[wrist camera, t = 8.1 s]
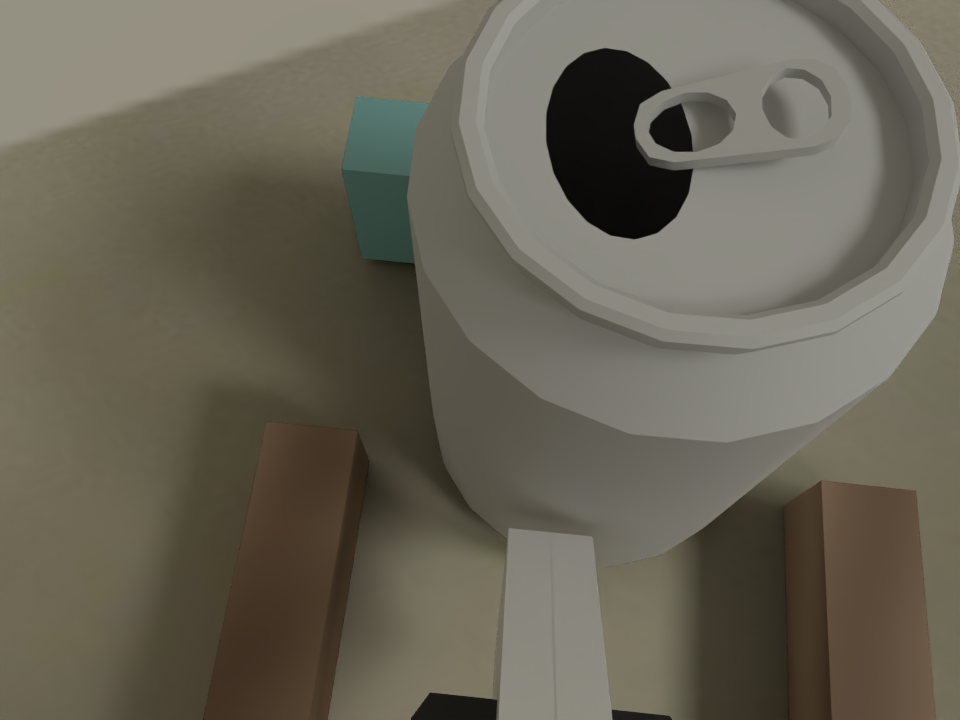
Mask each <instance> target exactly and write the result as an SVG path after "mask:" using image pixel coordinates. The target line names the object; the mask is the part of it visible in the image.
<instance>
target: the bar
mask: <svg viewBox="0 0 960 720" xmlns="http://www.w3.org/2000/svg"><path fill="white" fill-rule="evenodd" d="M428 105H429V103H419V102H408V101H398V100H387V99H377V98H366V97H356V100H355V105H354V110H353V115H352V120H351V125H350V130H349V135H348V140H347V145H346V150H345V154H344V159H343V164H342V174H343V178H344V182H345V186H346V191H347V195H348V199H349V203H350V208H351V212H352V216H353V220H354V225H355V229H356V233H357V238H358V242H359V246H360V250H361V255H362V258H365V259H375V260H385V261H395V262H405V263H414V264H415V260H414V252H413V244H412V236H411V227H410V219H409V211H408V202H407V192H408V185H409V178H410V171H411V164H412V156H413V149H414V142H415V135H416V128H417V125H418V123H419V121H420V120H421V118H422V116H423V114H424V112H425V111H426V109H427V107H428ZM643 201H644V199H642V201H641V205H640V209H639V212H638V216H639V213H640V210H641V207H642V204H643ZM638 216H637V218H638ZM636 221H637V219H636ZM635 224H636V223H635Z"/></svg>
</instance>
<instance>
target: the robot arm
mask: <svg viewBox="0 0 960 720" xmlns="http://www.w3.org/2000/svg"><path fill="white" fill-rule="evenodd" d="M411 720H672V719H671V717H670V716H665V715H656V714H647V713H637V712H628V711H618V710H611V701H610V692H609V682H608V673H607V664H606V655H605V646H604V637H603V627H602V618H601V609H600V600H599V591H598V581H597V572H596V563H595V554H594V545H593V537H592V536H582V535H572V534H562V533H552V532H543V531H533V530H523V529H513V528H509V530H508V540H507V549H506V558H505V568H504V577H503V586H502V595H501V605H500V614H499V623H498V633H497V642H496V651H495V667H494V682H493V698H492V699H485V698H476V697H467V696H457V695H448V694H439V693H429V695H428V696H427V698H426V699H425V700H424V702H423V703H422V704H421V706H420V707H419V708H418V710H417V711H416V712H415V714H414V715H413V716H412V718H411Z"/></svg>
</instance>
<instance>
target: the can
mask: <svg viewBox="0 0 960 720" xmlns="http://www.w3.org/2000/svg"><path fill="white" fill-rule="evenodd" d="M959 186H960V141H959V134H958V128H957V121H956V115H955V108H954V103H953V101H952V99H951V97H950V95H949V93H948V91H947V90H946V88H945V86H944V84H943V82H942V80H941V78H940V77H939V75H938V73H937V71H936V69H935V67H934V66H933V64H932V62H931V60H930V58H929V56H928V54H927V53H926V51H925V49H924V47H923V45H922V43H921V42H920V41H919V40H918V39H917V38H916V37H915V36H914V35H913V34H912V33H911V32H910V31H909V30H908V29H907V28H906V27H905V26H904V25H903V24H902V23H901V22H900V21H899V20H898V19H897V18H896V17H895V16H894V15H893V14H892V13H891V12H890V11H889V10H888V9H887V8H886V7H885V6H884V5H883V4H882V3H881V2H880V1H879V0H499V1H498V2H497V3H495V4H494V5H493V6H492V7H491V8H490V9H489V10H488V11H487V13H486V15H485V17H484V19H483V20H482V22H481V24H480V26H479V28H478V29H477V31H476V33H475V35H474V37H473V39H472V40H471V42H470V44H469V46H468V48H467V49H466V51H465V53H464V54H463V55H462V56H461V57H460V58H459V59H458V60H456V61H455V62H454V63H453V64H452V65H451V66H450V67H449V69H448V71H447V73H446V74H445V76H444V78H443V80H442V82H441V83H440V85H439V87H438V89H437V91H436V93H435V94H434V96H433V98H432V100H431V102H430V103H429V105H428V107H427V109H426V111H425V112H424V114H423V116H422V118H421V120H420V121H419V123H418V125H417V128H416V135H415V142H414V149H413V156H412V164H411V171H410V178H409V185H408V192H407V202H408V211H409V219H410V227H411V236H412V244H413V252H414V260H415V269H416V277H417V285H418V294H419V302H420V310H421V319H422V327H423V335H424V344H425V352H426V360H427V369H428V377H429V385H430V394H431V402H432V410H433V418H434V423H435V427H436V432H437V436H438V441H439V445H440V450H441V454H442V459H443V463H444V466H445V467H446V469H447V471H448V472H449V474H450V476H451V477H452V479H453V481H454V482H455V484H456V486H457V487H458V489H459V491H460V492H461V494H462V496H463V497H464V499H465V501H466V502H467V504H468V506H469V507H470V508H471V509H472V510H473V511H474V512H475V513H477V514H478V515H479V516H480V517H481V518H482V519H484V520H485V521H486V522H487V523H488V524H489V525H490V526H492V527H493V528H494V529H495V530H496V531H497V532H499V533H500V534H501V535H502V536H503V537H504V538H505V539H507V540H508V530H509V528H513V529H523V530H533V531H543V532H552V533H562V534H572V535H582V536H592V537H593V545H594V554H595V563H596V566H604V567H613V566H617V565H621V564H625V563H630V562H634V561H638V560H642V559H647V558H651V557H655V556H659V555H662V554H663V553H665V552H667V551H668V550H670V549H671V548H673V547H674V546H676V545H678V544H679V543H681V542H682V541H684V540H685V539H687V538H689V537H690V536H692V535H693V534H695V533H696V532H698V531H700V530H701V529H703V528H704V527H705V526H707V525H708V524H709V523H710V522H711V521H713V520H714V519H715V518H716V517H718V516H719V515H720V514H721V513H723V512H724V511H725V510H726V509H728V508H729V507H730V506H731V505H732V504H734V503H735V502H736V501H737V500H739V499H740V498H741V497H742V496H744V495H745V494H746V493H747V492H749V491H750V490H751V489H752V488H753V487H755V486H756V485H757V484H758V483H760V482H761V481H762V480H763V479H765V478H766V477H767V476H768V475H770V474H771V473H772V472H773V471H774V470H776V469H777V468H778V467H779V466H781V465H782V464H783V463H784V462H786V461H787V460H788V459H789V458H791V457H792V456H793V455H794V454H795V453H797V452H798V451H799V450H800V449H802V448H803V447H804V446H805V445H807V444H808V443H809V442H810V441H812V440H813V439H814V438H815V437H816V436H818V435H819V434H820V433H821V432H823V431H824V430H825V429H826V428H828V427H829V426H830V425H831V424H833V423H834V422H835V421H836V420H837V419H839V418H840V417H841V416H842V415H844V414H845V413H846V412H847V411H849V410H850V409H851V408H852V407H854V406H855V405H856V404H857V403H858V402H860V401H861V400H862V399H863V398H865V397H866V396H867V395H868V394H870V393H871V392H872V391H873V390H875V389H876V388H877V387H878V386H879V385H881V384H882V383H883V382H884V381H886V380H887V379H888V378H889V377H890V376H891V375H892V374H893V372H894V371H895V370H896V368H897V367H898V366H899V364H900V363H901V361H902V360H903V359H904V357H905V356H906V355H907V353H908V352H909V351H910V349H911V348H912V347H913V345H914V344H915V342H916V341H917V340H918V338H919V337H920V336H921V334H922V333H923V332H924V330H925V329H926V328H927V326H928V325H929V323H930V322H931V321H932V319H933V318H934V317H935V315H936V314H937V311H938V307H939V303H940V299H941V294H942V290H943V286H944V282H945V278H946V274H947V270H948V266H949V262H950V258H951V254H952V249H953V245H954V234H953V227H952V220H951V218H952V214H953V210H954V206H955V202H956V198H957V194H958V190H959ZM642 199H644V201H643V204H642V207H641V210H640V213H639V216H638V212H639V209H640V205H641V201H642ZM637 216H638V218H637ZM636 219H637V221H636ZM635 223H636V224H635Z"/></svg>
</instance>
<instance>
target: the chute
mask: <svg viewBox="0 0 960 720" xmlns="http://www.w3.org/2000/svg"><path fill="white" fill-rule="evenodd" d="M368 467H369V459H368V456H367V454H366V451H365V449H364V446H363V444H362V441H361V438H360V436H359V433H358V431H353V430H344V429H334V428H325V427H316V426H306V425H297V424H288V423H278V422H269V421H267V422H266V427H265V431H264V436H263V441H262V445H261V450H260V455H259V459H258V464H257V469H256V474H255V478H254V483H253V488H252V492H251V497H250V502H249V506H248V511H247V516H246V520H245V525H244V530H243V535H242V539H241V544H240V549H239V553H238V558H237V563H236V567H235V572H234V577H233V581H232V586H231V591H230V596H229V600H228V605H227V610H226V614H225V619H224V624H223V628H222V633H221V638H220V643H219V647H218V652H217V657H216V661H215V666H214V671H213V675H212V680H211V685H210V689H209V694H208V699H207V704H206V708H205V713H204V718H203V720H328V714H329V708H330V701H331V695H332V689H333V683H334V677H335V671H336V664H337V658H338V652H339V646H340V640H341V634H342V627H343V621H344V615H345V609H346V603H347V597H348V590H349V584H350V578H351V572H352V566H353V560H354V553H355V547H356V541H357V535H358V529H359V523H360V516H361V510H362V504H363V498H364V492H365V486H366V479H367V473H368ZM784 538H785V576H786V613H787V651H788V688H789V720H936V716H935V704H934V693H933V681H932V669H931V658H930V646H929V635H928V623H927V612H926V600H925V589H924V577H923V566H922V554H921V542H920V531H919V519H918V508H917V496H916V491H913V490H904V489H895V488H885V487H876V486H867V485H857V484H848V483H839V482H829V481H820V482H819V483H817V484H816V485H814V486H813V487H811V488H810V489H808V490H807V491H805V492H804V493H802V494H801V495H799V496H798V497H796V498H795V499H793V500H792V501H790V502H789V503H787V504H786V505H784Z"/></svg>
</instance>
